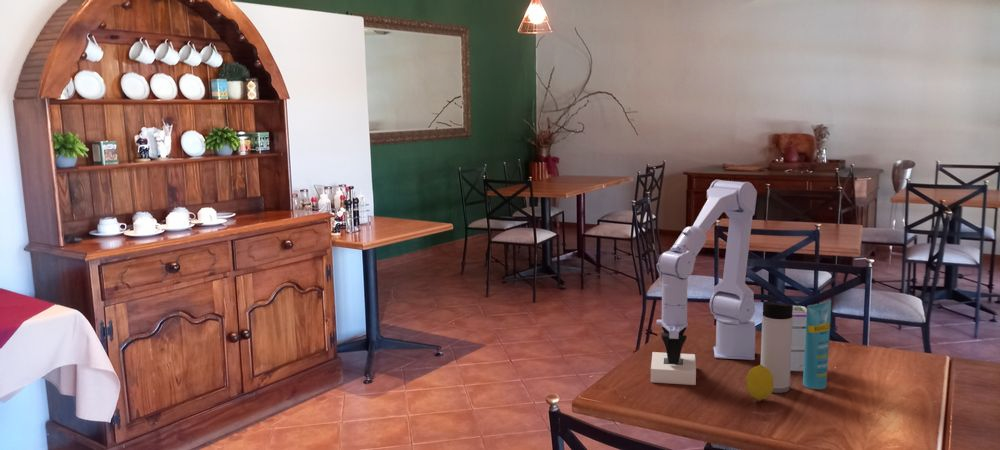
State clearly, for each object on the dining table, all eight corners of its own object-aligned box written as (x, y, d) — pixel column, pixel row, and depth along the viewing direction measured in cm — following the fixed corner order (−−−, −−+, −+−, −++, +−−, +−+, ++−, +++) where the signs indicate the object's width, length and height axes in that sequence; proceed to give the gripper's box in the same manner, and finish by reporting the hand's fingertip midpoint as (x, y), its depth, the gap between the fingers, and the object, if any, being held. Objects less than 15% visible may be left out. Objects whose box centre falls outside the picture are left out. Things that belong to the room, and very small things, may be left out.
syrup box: (809, 371, 180) (811, 312, 177) (782, 370, 181) (785, 311, 178) (803, 363, 185) (806, 305, 183) (778, 362, 186) (780, 304, 184)
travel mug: (757, 391, 168) (760, 303, 165) (762, 381, 174) (765, 296, 171) (787, 395, 166) (791, 306, 162) (791, 385, 171) (795, 298, 168)
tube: (814, 392, 167) (818, 307, 164) (794, 386, 171) (798, 302, 168) (834, 385, 171) (838, 302, 168) (815, 379, 175) (819, 297, 172)
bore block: (694, 367, 184) (694, 354, 184) (695, 385, 173) (696, 371, 172) (652, 364, 187) (652, 352, 186) (650, 382, 175) (650, 368, 175)
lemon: (776, 405, 160) (778, 369, 159) (750, 406, 160) (751, 369, 159) (768, 395, 166) (769, 360, 165) (742, 396, 166) (743, 360, 165)
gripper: (657, 294, 185) (656, 348, 187) (655, 310, 171) (655, 368, 173) (687, 295, 183) (686, 350, 185) (688, 311, 169) (687, 370, 171)
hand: (673, 359), depth 179 cm, fingers open, 5 cm apart
